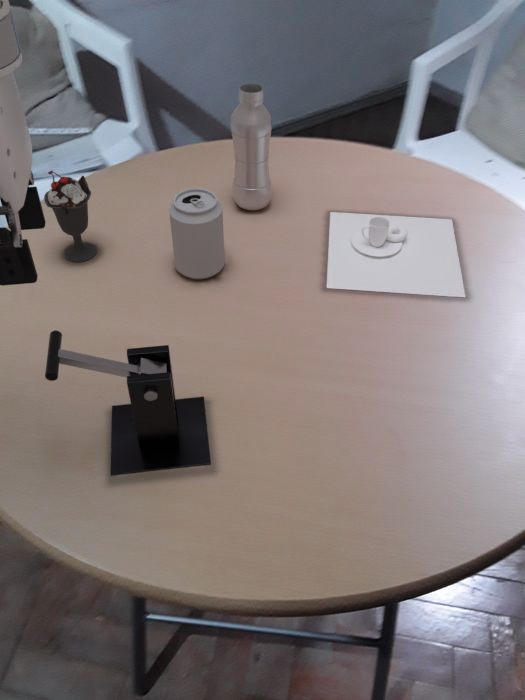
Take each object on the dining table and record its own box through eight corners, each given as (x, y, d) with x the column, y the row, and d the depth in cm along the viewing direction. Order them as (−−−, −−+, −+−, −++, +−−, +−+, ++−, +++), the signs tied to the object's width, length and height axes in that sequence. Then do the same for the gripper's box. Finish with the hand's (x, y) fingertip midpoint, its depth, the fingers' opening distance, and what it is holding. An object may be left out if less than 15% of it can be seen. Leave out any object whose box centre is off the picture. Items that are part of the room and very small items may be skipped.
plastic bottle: (260, 219, 112) (260, 101, 97) (225, 208, 114) (220, 91, 100) (278, 200, 116) (281, 85, 102) (244, 190, 118) (242, 75, 104)
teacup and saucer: (405, 231, 109) (409, 209, 107) (408, 261, 104) (412, 239, 101) (350, 227, 110) (353, 206, 107) (350, 257, 104) (353, 235, 101)
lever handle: (42, 383, 66) (48, 367, 64) (47, 341, 70) (52, 324, 69) (160, 406, 71) (167, 391, 69) (158, 365, 75) (165, 350, 73)
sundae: (53, 265, 102) (30, 177, 92) (64, 239, 107) (43, 152, 97) (97, 266, 102) (78, 178, 92) (106, 240, 107) (89, 153, 97)
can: (207, 246, 106) (203, 178, 98) (234, 270, 102) (232, 201, 93) (165, 263, 103) (157, 194, 95) (192, 289, 99) (186, 219, 90)
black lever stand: (112, 480, 75) (92, 405, 66) (113, 412, 82) (95, 335, 73) (211, 469, 76) (205, 393, 67) (204, 402, 83) (197, 326, 74)
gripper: (-71, 2, 52) (-8, 202, 65) (-131, 102, 40) (-39, 325, 52) (30, -2, 53) (73, 196, 65) (0, 95, 41) (60, 316, 53)
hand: (23, 252), depth 59 cm, fingers open, 7 cm apart
